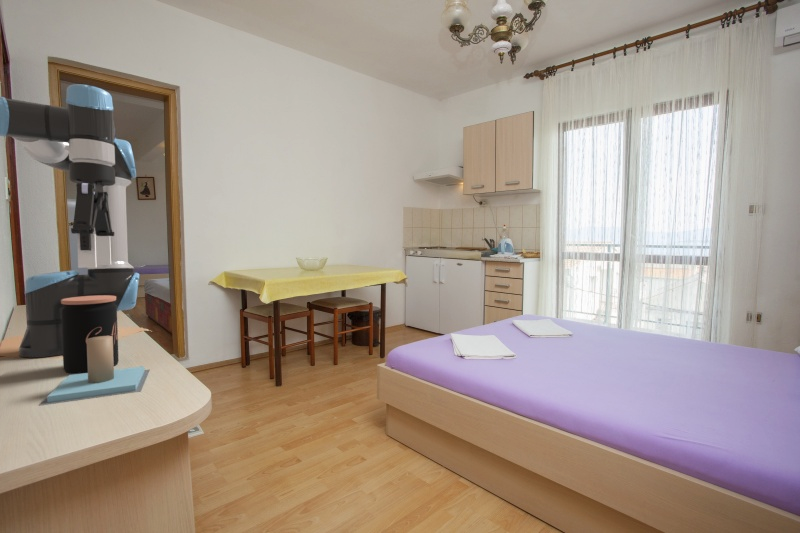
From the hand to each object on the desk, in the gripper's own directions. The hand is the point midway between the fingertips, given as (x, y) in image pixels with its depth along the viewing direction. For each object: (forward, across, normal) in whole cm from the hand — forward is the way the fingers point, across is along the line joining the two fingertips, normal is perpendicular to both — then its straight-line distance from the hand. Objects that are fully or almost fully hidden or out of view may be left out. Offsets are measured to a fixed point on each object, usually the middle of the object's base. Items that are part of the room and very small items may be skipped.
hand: (96, 266), depth 81 cm
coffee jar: (+27, -17, -5) cm, 32 cm away
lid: (+26, 0, 0) cm, 26 cm away
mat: (+26, 0, 0) cm, 26 cm away
